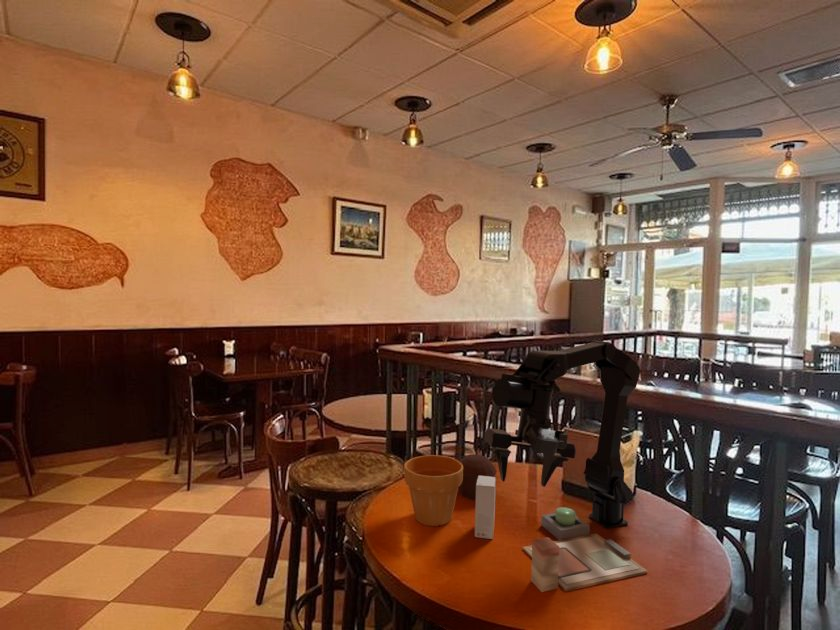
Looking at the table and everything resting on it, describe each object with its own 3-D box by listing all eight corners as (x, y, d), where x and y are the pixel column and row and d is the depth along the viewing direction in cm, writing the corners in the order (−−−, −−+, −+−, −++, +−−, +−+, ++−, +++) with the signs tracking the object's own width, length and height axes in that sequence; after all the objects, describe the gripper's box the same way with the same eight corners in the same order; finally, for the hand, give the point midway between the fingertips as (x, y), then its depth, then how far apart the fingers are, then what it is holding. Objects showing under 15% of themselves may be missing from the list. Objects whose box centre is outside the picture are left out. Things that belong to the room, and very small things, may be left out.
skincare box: (493, 539, 105) (494, 487, 105) (474, 537, 106) (475, 485, 106) (494, 526, 111) (496, 476, 111) (476, 524, 112) (477, 474, 112)
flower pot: (394, 525, 111) (395, 471, 110) (415, 500, 124) (416, 451, 124) (452, 537, 106) (453, 480, 106) (468, 510, 120) (469, 459, 119)
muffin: (498, 502, 124) (499, 465, 123) (456, 501, 124) (456, 464, 124) (492, 484, 136) (493, 449, 135) (453, 483, 136) (454, 449, 135)
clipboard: (596, 535, 108) (596, 529, 108) (647, 573, 94) (647, 565, 93) (522, 549, 102) (522, 542, 102) (565, 591, 87) (565, 583, 87)
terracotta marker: (547, 577, 92) (548, 537, 91) (558, 588, 88) (559, 546, 88) (530, 580, 91) (532, 540, 90) (541, 592, 87) (542, 549, 87)
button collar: (568, 520, 115) (569, 510, 114) (589, 536, 107) (589, 525, 107) (541, 525, 112) (541, 515, 112) (560, 541, 105) (561, 530, 105)
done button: (567, 517, 112) (567, 506, 112) (579, 526, 108) (579, 514, 108) (551, 520, 111) (551, 508, 111) (562, 529, 107) (563, 517, 107)
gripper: (508, 411, 92) (494, 492, 91) (595, 424, 95) (582, 502, 94) (489, 401, 102) (476, 473, 102) (568, 413, 106) (556, 483, 105)
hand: (523, 483), depth 100 cm, fingers open, 9 cm apart
